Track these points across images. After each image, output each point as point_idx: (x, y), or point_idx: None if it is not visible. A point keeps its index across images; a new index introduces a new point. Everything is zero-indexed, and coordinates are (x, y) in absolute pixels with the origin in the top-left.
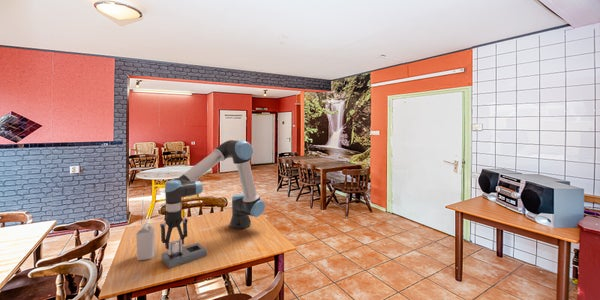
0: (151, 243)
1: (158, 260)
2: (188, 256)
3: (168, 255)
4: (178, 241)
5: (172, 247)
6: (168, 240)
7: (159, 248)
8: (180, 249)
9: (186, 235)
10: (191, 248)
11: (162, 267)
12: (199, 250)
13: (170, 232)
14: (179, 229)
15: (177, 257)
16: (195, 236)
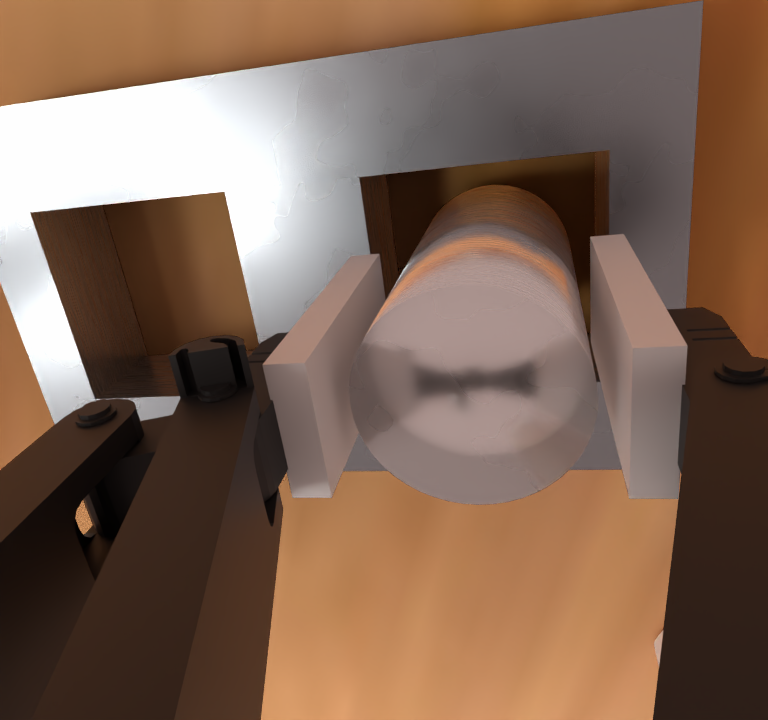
0: None
1: None
2: (283, 64)
3: None
4: (366, 400)
5: (559, 290)
6: (726, 407)
7: (561, 712)
8: (373, 285)
9: (78, 420)
10: None
11: (746, 136)
12: (64, 167)
13: (717, 670)
14: (144, 675)
15: (484, 117)
16: None
